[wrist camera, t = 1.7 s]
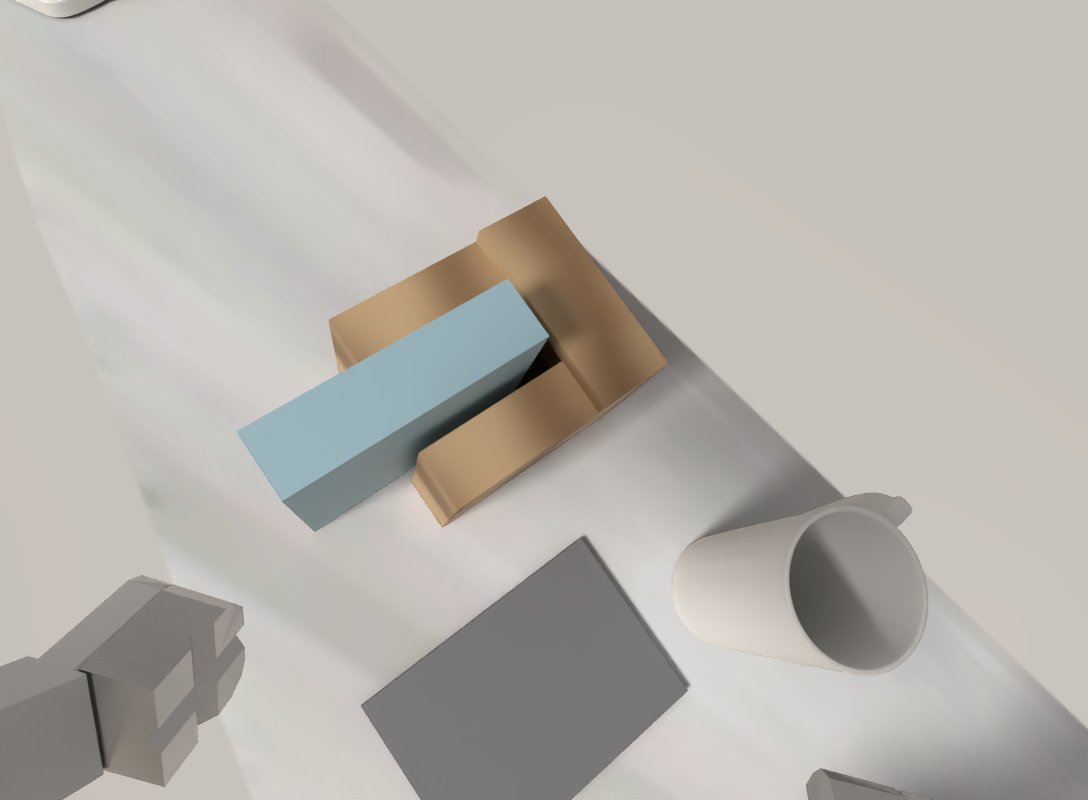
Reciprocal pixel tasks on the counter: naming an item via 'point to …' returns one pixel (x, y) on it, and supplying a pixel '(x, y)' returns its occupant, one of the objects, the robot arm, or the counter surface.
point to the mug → (810, 587)
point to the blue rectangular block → (394, 405)
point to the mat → (528, 691)
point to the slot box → (570, 352)
